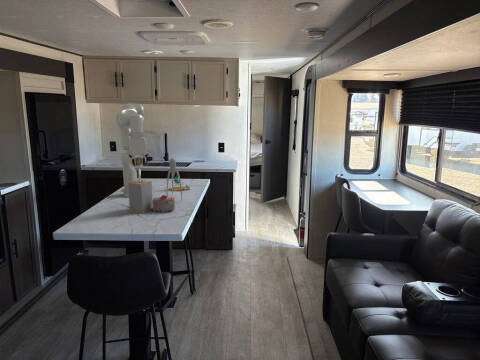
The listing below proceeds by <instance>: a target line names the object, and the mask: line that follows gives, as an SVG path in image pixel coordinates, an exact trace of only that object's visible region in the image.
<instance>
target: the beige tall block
mask: <svg viewBox="0 0 480 360" xmlns="http://www.w3.org/2000/svg"><path fill="white" fill-rule="evenodd" d="M128 190H129V197H128V201H129V202H128V203H129V209H126V210H127V212H128V213H135V214H142V215H143V214H146V213H149V212H151V211H153V184H152V181H151V180H144V179H143V180H142V179H141V183H139V179H137V181H133V182H130V183H128Z"/></svg>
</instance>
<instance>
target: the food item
mask: <svg viewBox="0 0 480 360" xmlns="http://www.w3.org/2000/svg"><path fill="white" fill-rule="evenodd" d="M152 200H153V210H152V211H153V212H154V213H155V212H161V213H165V212H173V211H174V210H175V209H176V205H175V204H176V200H175V197H174V196H168V197H167V195H165V194H163V195H161V196H160V197H157V196H156V197H152Z"/></svg>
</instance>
